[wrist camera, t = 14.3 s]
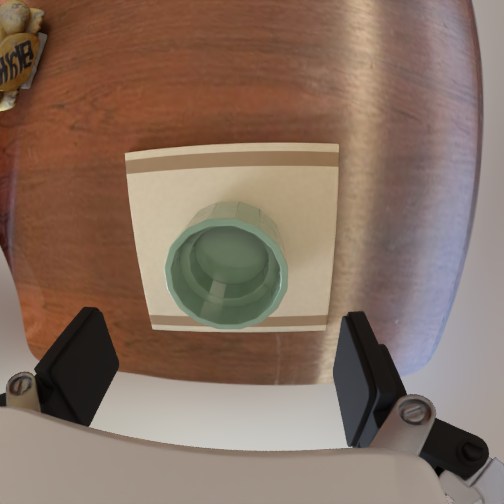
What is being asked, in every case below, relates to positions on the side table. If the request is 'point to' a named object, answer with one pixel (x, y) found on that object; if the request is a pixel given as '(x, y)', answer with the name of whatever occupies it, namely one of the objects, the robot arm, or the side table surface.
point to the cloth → (252, 193)
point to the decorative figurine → (18, 49)
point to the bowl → (228, 266)
